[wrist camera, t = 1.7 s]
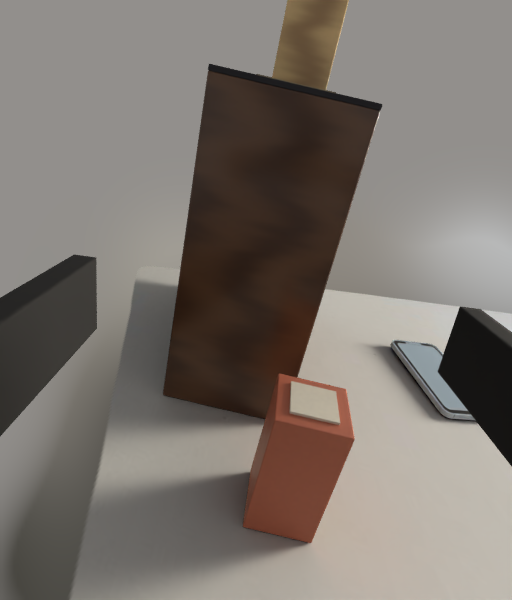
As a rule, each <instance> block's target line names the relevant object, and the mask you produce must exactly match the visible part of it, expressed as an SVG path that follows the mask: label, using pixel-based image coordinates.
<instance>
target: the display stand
mask: <svg viewBox="0 0 512 600" xmlns="http://www.w3.org/2000/svg"><path fill="white" fill-rule="evenodd" d="M379 114H380V111H379V110H375V109H371V108H367V107H362V106H358V105H354V104H349V103H345V102H341V101H337V100H332V99H328V98H324V97H320V96H315V95H311V94H307V93H302V92H298V91H294V90H290V89H285V88H281V87H277V86H273V85H268V84H264V83H260V82H255V81H251V80H247V79H243V78H238V77H234V76H230V75H225V74H221V73H217V72H213V71H208V76H207V82H206V90H205V97H204V104H203V111H202V119H201V125H200V133H199V140H198V147H197V154H196V161H195V168H194V175H193V184H192V190H191V198H190V204H189V211H188V219H187V225H186V233H185V240H184V247H183V254H182V261H181V268H180V276H179V283H178V290H177V297H176V304H175V311H174V319H173V326H172V333H171V340H170V347H169V354H168V362H167V369H166V376H165V383H164V390H163V395H166V396H170V397H174V398H178V399H183V400H187V401H191V402H195V403H200V404H204V405H208V406H212V407H216V408H221V409H225V410H229V411H233V412H237V413H242V414H246V415H250V416H254V417H259V418H263V419H266V415H267V412H268V408H269V405H270V401H271V398H272V394H273V391H274V387H275V384H276V380H277V377H278V374H284V375H288V376H292V377H296V378H297V377H298V374H299V370H300V367H301V364H302V361H303V358H304V354H305V351H306V348H307V345H308V342H309V338H310V335H311V332H312V329H313V326H314V322H315V319H316V316H317V313H318V310H319V306H320V303H321V300H322V297H323V293H324V290H325V287H326V284H327V281H328V277H329V274H330V271H331V268H332V264H333V261H334V258H335V255H336V251H337V248H338V245H339V242H340V239H341V236H342V233H343V229H344V226H345V223H346V220H347V216H348V213H349V210H350V207H351V203H352V200H353V197H354V194H355V191H356V188H357V184H358V181H359V178H360V175H361V171H362V168H363V165H364V162H365V158H366V155H367V152H368V149H369V146H370V143H371V139H372V136H373V133H374V130H375V127H376V123H377V120H378V117H379Z"/></svg>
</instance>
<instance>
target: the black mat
mask: <svg viewBox="0 0 512 600" xmlns="http://www.w3.org/2000/svg"><path fill="white" fill-rule="evenodd" d="M208 70H209V71H213V72H217V73H221V74H225V75H230V76H234V77H238V78H243V79H247V80H251V81H255V82H260V83H264V84H268V85H273V86H277V87H281V88H285V89H290V90H294V91H298V92H302V93H307V94H311V95H315V96H320V97H324V98H328V99H332V100H337V101H341V102H345V103H349V104H354V105H358V106H362V107H367V108H371V109H375V110H379V111H380V110H381V108H382V104H379V103H375V102H371V101H366V100H362V99H358V98H353V97H349V96H345V95H340V94H336V92H332V91H327V90H323V89H319V88H315V87H310V86H306V85H302V84H297V83H293V82H289V81H285V80H280V79H276V78H272V77H268V76H263V75H259V74H256V75H255V74H251V73H246V72H242V71H238V70H234V69H230V68H225V67H221V66H216V65H212V64H209V67H208Z"/></svg>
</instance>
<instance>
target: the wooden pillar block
mask: <svg viewBox="0 0 512 600" xmlns="http://www.w3.org/2000/svg"><path fill="white" fill-rule="evenodd" d="M348 1H349V0H288V1H287V6H286V11H285V16H284V21H283V26H282V31H281V36H280V41H279V46H278V51H277V56H276V61H275V66H274V71H273V76H272V78H276V79H280V80H285V81H289V82H293V83H297V84H302V85H306V86H310V87H315V88H319V89H323V90H326V88H327V84H328V80H329V76H330V72H331V68H332V65H333V61H334V57H335V53H336V48H337V44H338V41H339V37H340V33H341V29H342V25H343V21H344V17H345V13H346V9H347V5H348Z"/></svg>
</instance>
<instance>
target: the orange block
mask: <svg viewBox="0 0 512 600" xmlns="http://www.w3.org/2000/svg"><path fill="white" fill-rule="evenodd" d="M354 440H355V438H354V432H353V427H352V421H351V415H350V409H349V403H348V398H347V392H346V389H343V388H339V387H334V386H330V385H326V384H322V383H318V382H313V381H309V380H305V379H301V378H296V377H292V376H288V375H284V374H278V377H277V380H276V384H275V387H274V391H273V394H272V398H271V401H270V405H269V408H268V412H267V415H266V419H265V422H264V426H263V429H262V433H261V436H260V440H259V443H258V447H257V450H256V454H255V457H254V461H253V464H252V468H251V471H250V478H249V485H248V492H247V500H246V507H245V514H244V521H243V527H245V528H250V529H254V530H258V531H262V532H266V533H271V534H275V535H279V536H283V537H287V538H291V539H296V540H300V541H304V542H308V543H311V542H312V540H313V537H314V535H315V533H316V530H317V528H318V525H319V523H320V521H321V518H322V516H323V513H324V511H325V509H326V506H327V504H328V502H329V499H330V497H331V494H332V492H333V490H334V487H335V485H336V483H337V480H338V478H339V475H340V473H341V471H342V468H343V466H344V464H345V461H346V459H347V456H348V454H349V452H350V449H351V447H352V445H353V442H354Z"/></svg>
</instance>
